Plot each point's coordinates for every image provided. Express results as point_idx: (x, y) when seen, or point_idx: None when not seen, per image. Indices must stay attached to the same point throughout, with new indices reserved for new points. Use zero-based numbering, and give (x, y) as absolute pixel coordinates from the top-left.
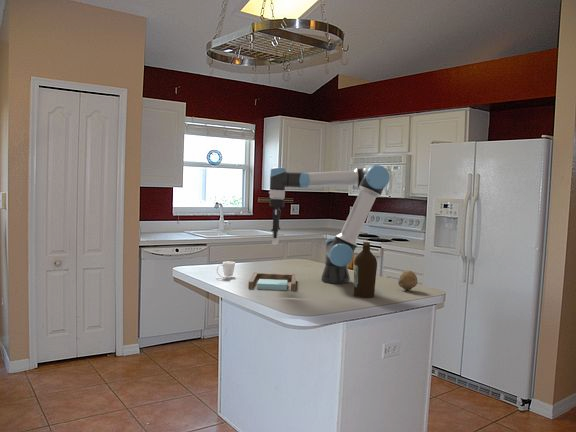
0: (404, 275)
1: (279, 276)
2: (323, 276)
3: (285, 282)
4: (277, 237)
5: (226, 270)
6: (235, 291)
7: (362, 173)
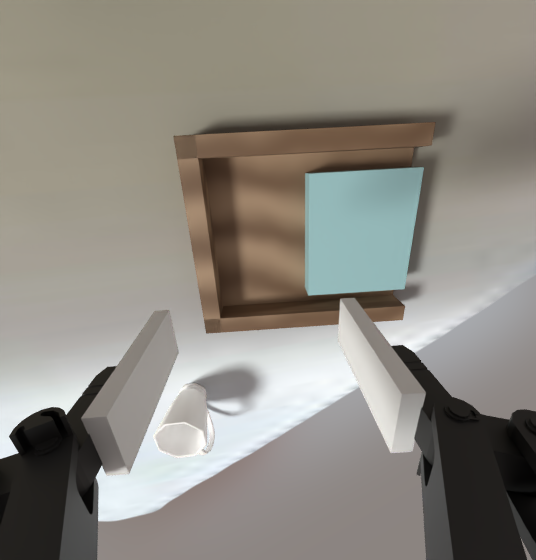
0: None
1: (209, 223)
2: None
3: (369, 178)
4: (383, 340)
5: (206, 418)
6: (411, 335)
7: None
